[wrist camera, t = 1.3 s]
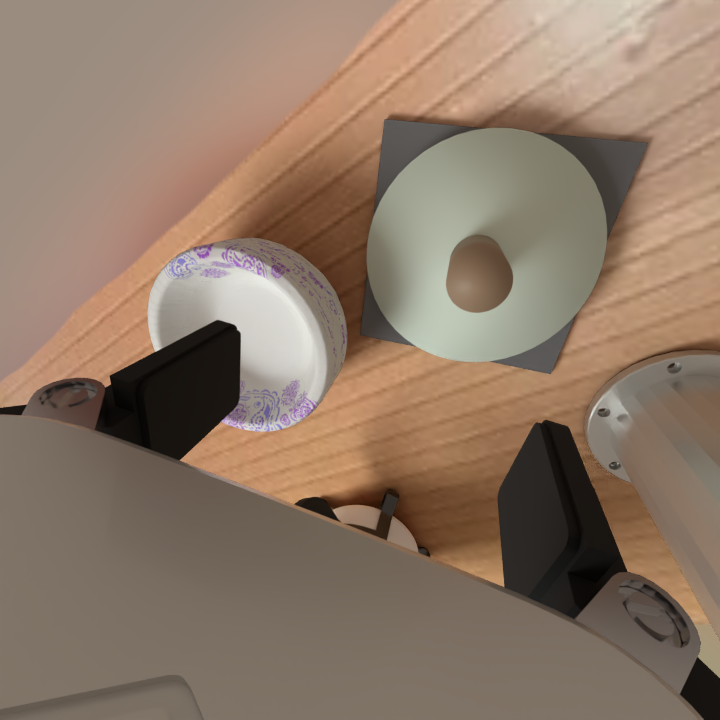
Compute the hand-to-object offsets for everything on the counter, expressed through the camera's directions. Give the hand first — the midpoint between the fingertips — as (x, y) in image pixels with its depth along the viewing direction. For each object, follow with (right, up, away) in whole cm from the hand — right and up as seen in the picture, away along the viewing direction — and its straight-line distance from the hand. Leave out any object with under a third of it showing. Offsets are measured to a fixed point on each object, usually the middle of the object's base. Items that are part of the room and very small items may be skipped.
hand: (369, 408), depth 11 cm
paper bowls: (-8, +6, +22) cm, 24 cm away
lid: (+8, +9, +15) cm, 19 cm away
